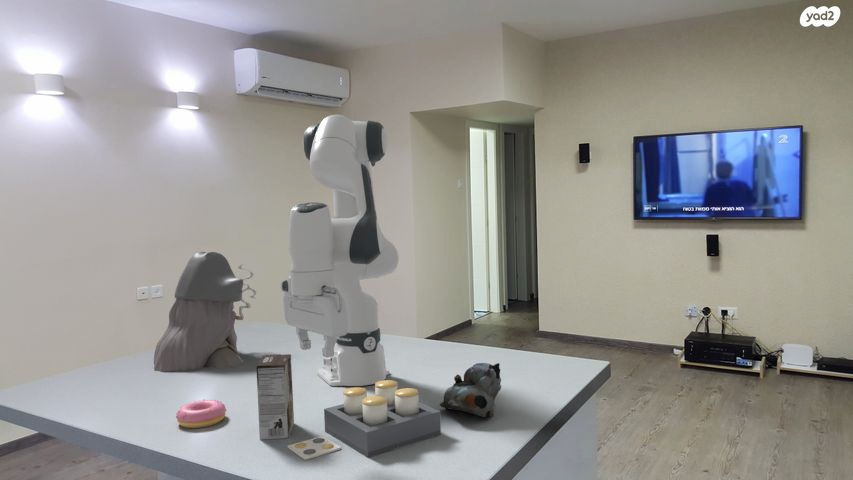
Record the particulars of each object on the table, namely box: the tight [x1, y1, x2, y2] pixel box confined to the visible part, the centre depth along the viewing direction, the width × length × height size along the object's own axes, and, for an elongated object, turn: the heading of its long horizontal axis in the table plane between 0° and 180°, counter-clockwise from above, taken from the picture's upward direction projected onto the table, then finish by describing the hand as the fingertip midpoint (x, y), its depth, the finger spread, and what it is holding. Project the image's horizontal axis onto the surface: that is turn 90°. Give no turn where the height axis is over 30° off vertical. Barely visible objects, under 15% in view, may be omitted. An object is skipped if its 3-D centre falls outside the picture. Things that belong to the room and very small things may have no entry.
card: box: [287, 435, 342, 461], centre depth 125 cm, size 8×8×1 cm
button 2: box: [362, 395, 388, 427], centre depth 126 cm, size 5×5×5 cm
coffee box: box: [256, 353, 295, 441], centre depth 134 cm, size 9×6×16 cm
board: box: [323, 402, 442, 458], centre depth 132 cm, size 18×18×5 cm
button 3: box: [374, 379, 399, 407], centre depth 137 cm, size 5×5×5 cm
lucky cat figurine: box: [439, 362, 502, 420], centre depth 143 cm, size 15×12×14 cm
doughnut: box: [175, 399, 227, 429], centre depth 142 cm, size 11×11×4 cm
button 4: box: [395, 387, 420, 418], centre depth 131 cm, size 5×5×5 cm
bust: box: [153, 251, 257, 373], centre depth 201 cm, size 34×34×35 cm
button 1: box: [342, 386, 368, 416], centre depth 132 cm, size 5×5×5 cm
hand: (316, 352), depth 123 cm, fingers open, 8 cm apart
